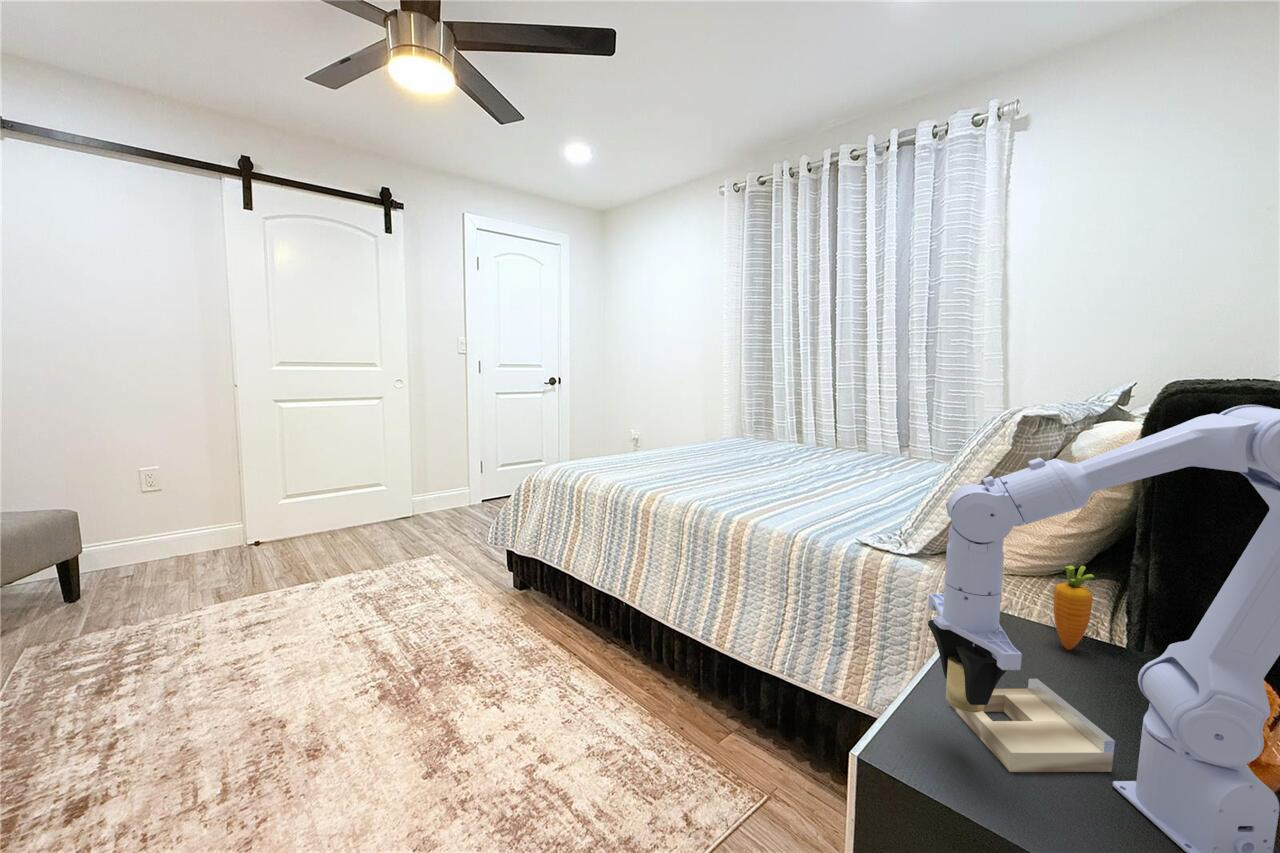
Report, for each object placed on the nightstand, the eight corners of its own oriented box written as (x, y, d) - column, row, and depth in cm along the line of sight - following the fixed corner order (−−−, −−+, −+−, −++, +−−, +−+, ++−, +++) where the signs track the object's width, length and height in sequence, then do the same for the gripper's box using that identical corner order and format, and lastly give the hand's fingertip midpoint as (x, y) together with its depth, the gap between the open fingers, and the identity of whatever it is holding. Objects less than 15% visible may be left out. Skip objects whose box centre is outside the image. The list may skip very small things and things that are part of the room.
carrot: (1072, 642, 88) (1080, 559, 87) (1095, 658, 84) (1104, 571, 82) (1042, 641, 89) (1049, 558, 87) (1062, 657, 84) (1070, 570, 82)
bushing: (991, 712, 61) (994, 672, 60) (958, 712, 61) (960, 673, 60) (970, 691, 65) (973, 654, 64) (939, 691, 65) (941, 654, 64)
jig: (1111, 771, 61) (1115, 740, 60) (1009, 772, 61) (1012, 741, 60) (1035, 704, 73) (1037, 678, 72) (950, 705, 73) (951, 679, 72)
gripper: (908, 562, 68) (903, 657, 70) (978, 615, 54) (969, 732, 56) (960, 562, 68) (954, 656, 70) (1045, 614, 54) (1035, 732, 56)
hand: (965, 690), depth 63 cm, fingers closed on bushing, 4 cm apart
